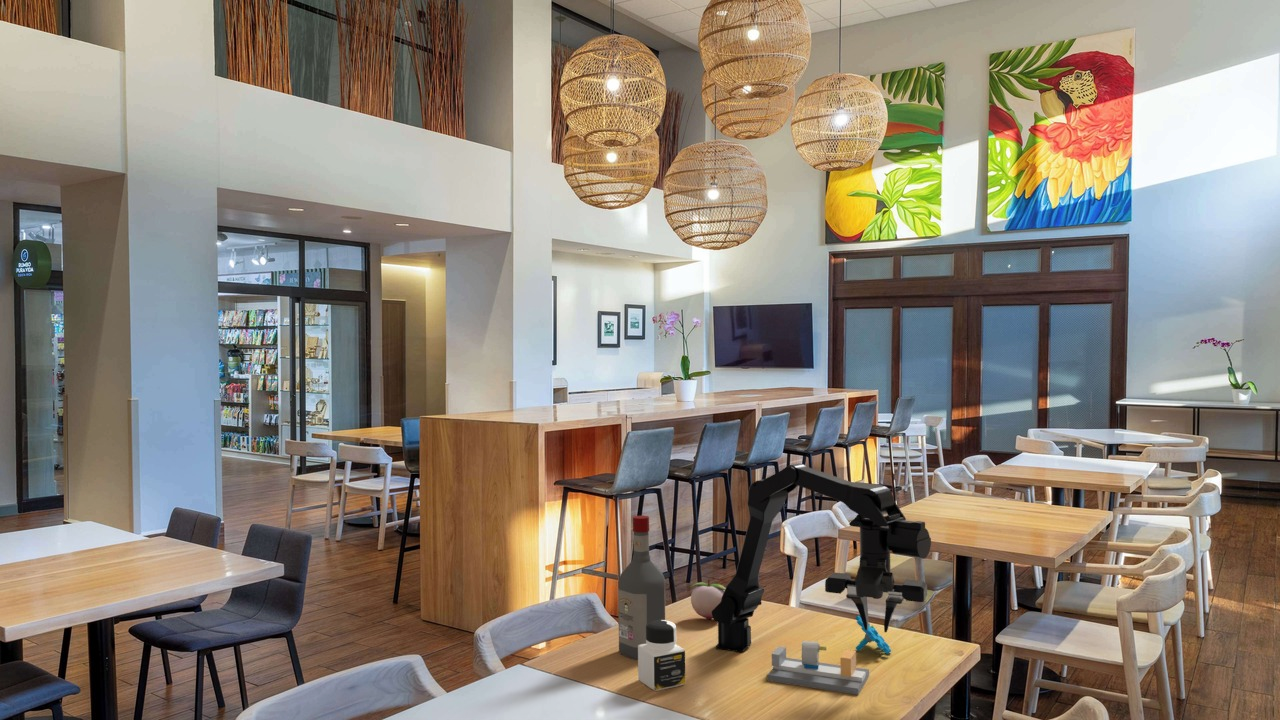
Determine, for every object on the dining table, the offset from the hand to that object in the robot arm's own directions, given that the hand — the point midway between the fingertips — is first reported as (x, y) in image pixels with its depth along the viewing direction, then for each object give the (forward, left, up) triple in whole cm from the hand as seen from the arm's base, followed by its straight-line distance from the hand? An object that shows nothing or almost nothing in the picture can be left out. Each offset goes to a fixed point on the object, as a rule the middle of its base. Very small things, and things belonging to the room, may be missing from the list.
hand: (876, 630), depth 164 cm
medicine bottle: (-40, -15, -11) cm, 44 cm away
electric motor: (-12, 0, -9) cm, 15 cm away
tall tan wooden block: (-6, 0, -9) cm, 11 cm away
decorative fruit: (-46, +27, -11) cm, 54 cm away
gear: (-5, +21, -11) cm, 24 cm away
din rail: (-12, 0, -11) cm, 16 cm away
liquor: (-51, -1, -11) cm, 52 cm away
